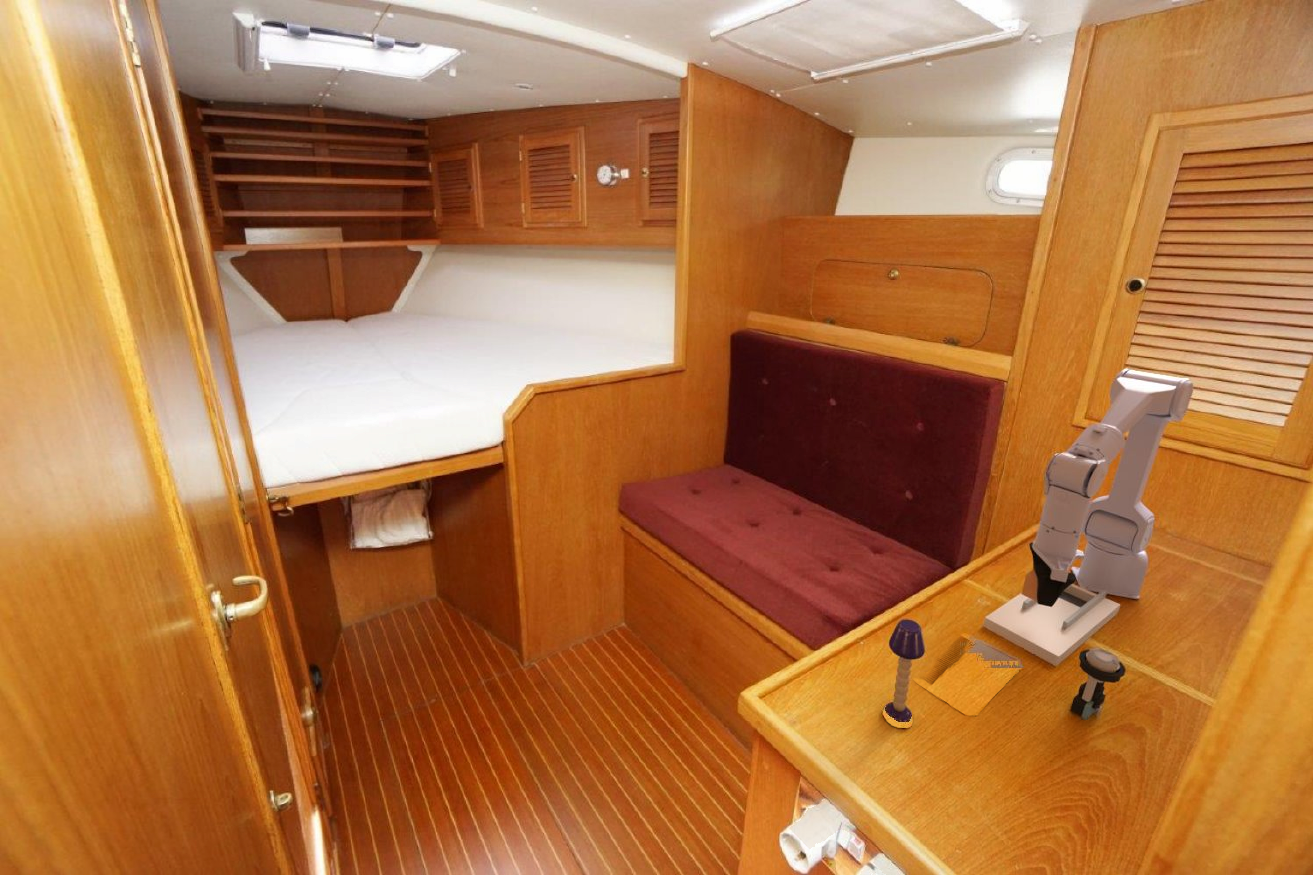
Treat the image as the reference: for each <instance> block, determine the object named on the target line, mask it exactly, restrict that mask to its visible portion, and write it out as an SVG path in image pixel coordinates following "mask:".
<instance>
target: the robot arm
mask: <svg viewBox="0 0 1313 875" xmlns="http://www.w3.org/2000/svg"><path fill="white" fill-rule="evenodd" d="M1193 393H1194V383H1193V382H1192V380H1191V378H1187V377H1185V378H1182V377H1175V376H1169V375H1162V374H1157V373H1150V372H1144V371H1138V370H1137V371H1136V370H1133V369H1131V368H1130V369H1129V368H1124V369H1122V370H1121V371H1119V372H1118V373H1117V374H1116V375H1115V377H1114V378H1113V381H1112V383H1111V385H1110V389H1109V398H1110V404H1111V405H1110V407H1109V408H1108V409H1107V411H1106V413H1105V414H1104V416H1103V418H1102V419H1101V420H1100V422H1099V423H1093V424H1090V425H1087V427H1086V428H1085V429H1084V430H1083V431H1082V433H1081V434H1080V435H1079V436H1078V437H1077V438H1076V440H1074V442H1073V443H1072V444H1071V445H1070V447H1068V449H1067V450H1066V451H1064V452H1061V453H1056V454H1054V455H1053V456H1052V457H1051V459H1049V462H1048V464H1047V467H1046V469H1045V471H1044V477H1043V478H1044V489H1043V495H1045V500H1044V504H1043V507H1042V511H1041V516H1040V520H1039V524H1038V529H1037V531H1036V536H1035V540H1034V541H1032V542H1030V543H1029V545H1028V546H1029V549H1030V551H1031V555H1032V562H1033V564H1032V567H1033V568H1032V570H1033V569H1034V570H1035V573H1036V576H1037V602H1038V604H1040V605H1045V606H1049V607H1052V606H1053V605H1054V604H1055V602H1056V601H1057V599H1058V598H1059V596H1060V595H1061V593H1062V592H1063V591H1064V590H1065V589H1066V588H1067V587H1068V586H1070V585H1072V584H1075V582H1076V581H1077V584H1078V586H1079V587H1081V588H1084V589H1086V590H1088V591H1090V592H1093V593H1098V594H1099V593H1100V592H1101V591H1103V590H1106V591H1107V594H1106V595H1110V596H1111V595H1112V596H1117V597H1124V598H1128V599H1135V600H1139V599H1140V598H1141V597H1140V591H1141V590H1142V586H1143V582H1144V579H1145V577H1146V574H1147V572H1148V565H1149V558H1148V554H1147V552H1146V550H1145V549H1146V548H1147V547H1148V545H1149V543H1150V541H1151V538H1152V537H1153V536H1152V535H1153V532H1154V528H1153V527H1154V525H1155V524H1154V523H1155V520H1156V519H1155V515H1154V512H1152V511H1151V510H1150V509H1148V507H1146V506H1145V505H1144V503H1143V502H1142V498H1143V495H1144V493H1145V492H1144V491H1145V490H1146V486H1147V482H1148V480H1149V478H1150V474H1151V471H1152V467H1153V464H1154V462H1155V459H1156V455H1157V453H1158V451H1159V446H1160V443H1161V441H1162V439H1163V435H1164V432H1165V429H1166V428H1167V426H1168V424H1169V423H1171V422H1181V421H1183V418H1184V417H1185V415H1186V413H1187V411H1188V407H1189V405H1190V401H1191V399H1192V396H1193ZM1126 433H1128V434H1127V437H1126V439H1125V434H1126ZM1121 451H1122V453H1121ZM1120 453H1121V455H1120V459H1119V461H1118V462H1119V463H1118V465H1117V469H1116V472H1115V475H1114V478H1113V482H1112V485H1111V487H1110V490H1109V494H1108V495H1103V496H1099V497H1095V499H1093V500H1092V497H1094V496H1095V495H1096V494H1097V493H1098V491H1099V490H1100V488H1101V486H1102V485H1103V481H1104V480H1105V478H1106V476H1107V474H1108V473H1109V470H1108V469H1109V466H1110V465H1111V464H1112V463H1113V461H1114V460H1115V458H1116V457H1117V456H1118V455H1119V454H1120ZM1082 534H1083V535H1084V536H1085V538H1084V540H1085V541H1087V543H1086V545H1085V546H1086V547H1085V549H1084V551H1083V550H1081V549H1078V546H1079V543H1080V540H1081V536H1082ZM1075 560H1081V563H1080V567H1075V566H1073V564H1074V562H1075ZM1069 569H1071V572H1069Z"/></svg>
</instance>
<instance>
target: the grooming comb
mask: <svg viewBox="0 0 1313 875" xmlns="http://www.w3.org/2000/svg"><path fill="white" fill-rule="evenodd" d="M969 639H971V640H972V639H974V640H975V639H976V640H975V641H974V640H972V641H974V643H975V644H973V643H972V642H970V641H969V642H970V643H972V644H973V645H972V644H970V643H969V644H970V645H971V646H974V645H975V646H974V647H971V648H972V649H971V648H970V649H971V650H970V649H969V652H967V653H976V655H977V653H979V655H978V657H979V656H981V655H980V653H982V656H983V657H982V656H981V658H984V660H983V661H990V660H991V661H994V665H992V662H991V668H1008V667H1009V668H1023V669H1024V666H1023V664H1022V661H1021V660H1020V659H1019V658H1017V657H1015V656H1014V655H1011V654H1009V653H1008V652H1006V651H1004V650H1002V649H1000V648H998V647H995V646H994V645H991V644H989V643H987V642H985V641H983V640H981V639H979V638H976V637H974V636H972V637H969ZM978 639H979V640H978ZM970 645H969V646H970ZM962 646H963V643H962ZM962 650H963V649H962ZM963 651H964V650H963ZM962 653H963V652H962ZM977 661H978V658H977ZM981 661H982V660H981ZM995 661H1000V663H1001V661H1007V664H1008V665H1006V664H1005V665H1003V662H1002V663H1001V666H1000V664H998V665H995ZM1009 661H1018V666H1017V665H1015V662H1013V665H1012V667H1011V665H1009ZM984 668H985V667H984ZM987 668H988V667H987Z"/></svg>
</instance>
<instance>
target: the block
mask: <svg viewBox="0 0 1313 875" xmlns="http://www.w3.org/2000/svg"><path fill="white" fill-rule="evenodd" d="M1021 590H1022V591H1021V594H1022V595H1024V596H1026V597H1028V598H1030V599H1033V600H1035V601H1037V576H1036V573H1035V570H1034V569H1033V568H1032V570H1031V571H1029V572H1028V573H1026V575H1025V579H1024V581H1023V586H1022V589H1021Z"/></svg>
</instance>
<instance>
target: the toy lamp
mask: <svg viewBox="0 0 1313 875" xmlns="http://www.w3.org/2000/svg"><path fill="white" fill-rule="evenodd" d="M888 642H889V643H888V646H889V649H890V650H891V651H892V653H894V654H895V655H896V656H898V659H897V660H898V661H897V663H898V665H897V669H896V673H897V674H896V676H895V684H894V689H895V690H894V692H893V701H891V702H888V703H887V704H886V705H885V706H886V707H885V706H884V707H885V711H886V713H887V714H888V715H889V716H890V717H892V718H894V720H896V721H898V722H909V721H910V719H911V717H912V715H913V713H912V711H911V709H910V708H909V707H908V706H907V702H906V701H907V699H908V693H909V684H910V682H911V679H910V676H911V673H912V672H911V668H912V665H913V661H914V660H920V659H921V658H922V657H924V655H925V653H926V647H925V640H924V635H923V630H922V627H921V625H920V624H919V623H918V622H917V621H915V620H913V619H908V618H907V619H906V618H905V619H900V621H898V622H897V624H896V626H895V628H894V629H893V632H892V634H891V636H890V638H889V641H888ZM912 660H913V661H912Z"/></svg>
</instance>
